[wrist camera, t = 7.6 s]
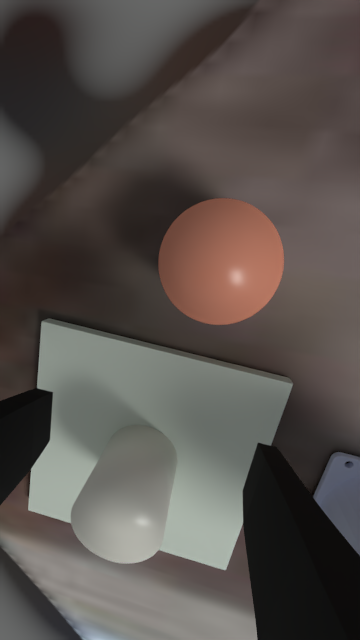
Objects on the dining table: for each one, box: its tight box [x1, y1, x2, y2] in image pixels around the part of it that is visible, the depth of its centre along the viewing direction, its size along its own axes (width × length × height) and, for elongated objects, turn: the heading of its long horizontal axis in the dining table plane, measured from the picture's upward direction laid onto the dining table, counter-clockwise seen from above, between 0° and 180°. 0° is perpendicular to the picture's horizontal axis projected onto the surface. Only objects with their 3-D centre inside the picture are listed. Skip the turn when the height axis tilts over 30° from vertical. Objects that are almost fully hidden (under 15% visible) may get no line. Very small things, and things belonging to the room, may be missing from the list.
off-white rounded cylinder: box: [71, 425, 177, 563], centre depth 16 cm, size 5×5×5 cm
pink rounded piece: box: [158, 198, 284, 325], centre depth 13 cm, size 5×5×5 cm
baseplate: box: [28, 318, 293, 570], centre depth 19 cm, size 16×16×1 cm
